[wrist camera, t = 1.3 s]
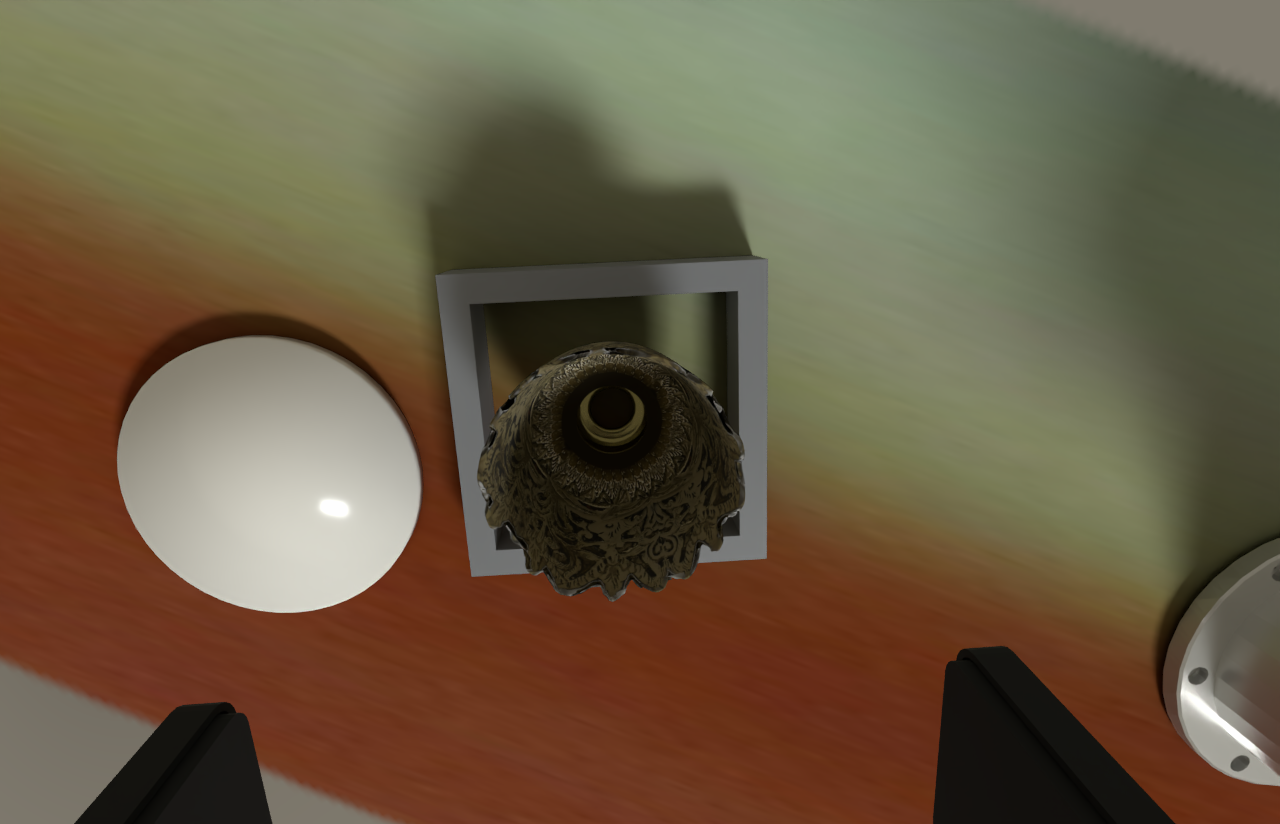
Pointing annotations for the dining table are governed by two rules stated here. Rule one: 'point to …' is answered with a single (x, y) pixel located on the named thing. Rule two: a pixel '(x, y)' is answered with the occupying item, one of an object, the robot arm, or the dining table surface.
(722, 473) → the ornate bronze lamp shade
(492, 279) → the pocket frame
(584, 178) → the dining table surface
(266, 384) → the coaster
